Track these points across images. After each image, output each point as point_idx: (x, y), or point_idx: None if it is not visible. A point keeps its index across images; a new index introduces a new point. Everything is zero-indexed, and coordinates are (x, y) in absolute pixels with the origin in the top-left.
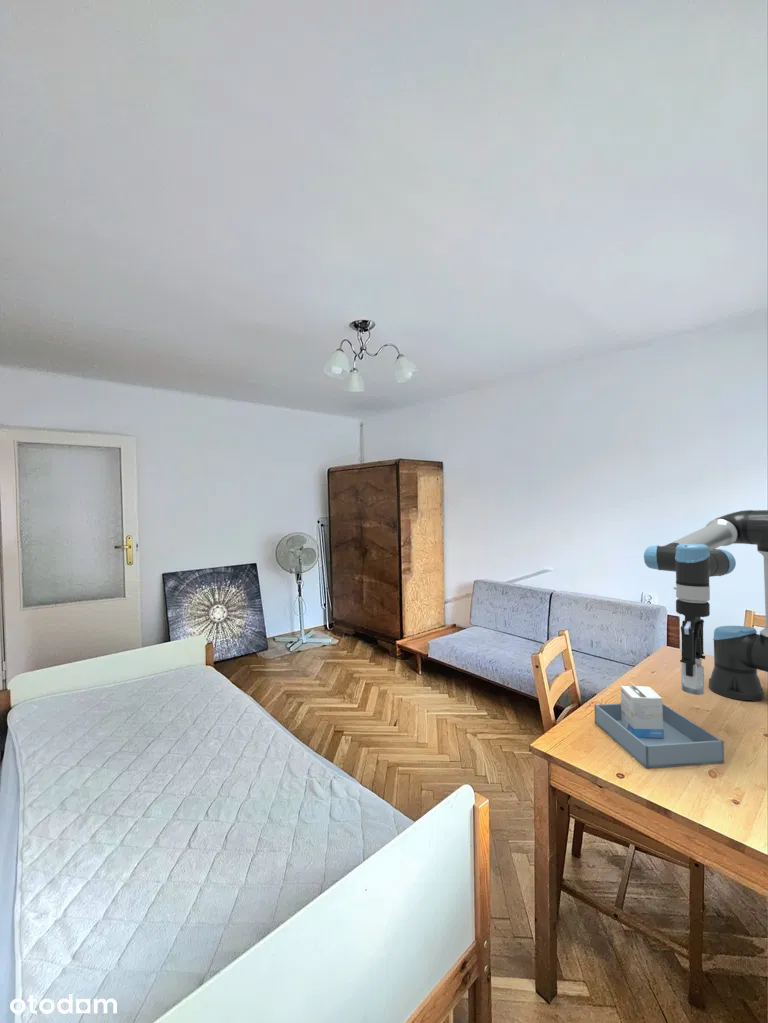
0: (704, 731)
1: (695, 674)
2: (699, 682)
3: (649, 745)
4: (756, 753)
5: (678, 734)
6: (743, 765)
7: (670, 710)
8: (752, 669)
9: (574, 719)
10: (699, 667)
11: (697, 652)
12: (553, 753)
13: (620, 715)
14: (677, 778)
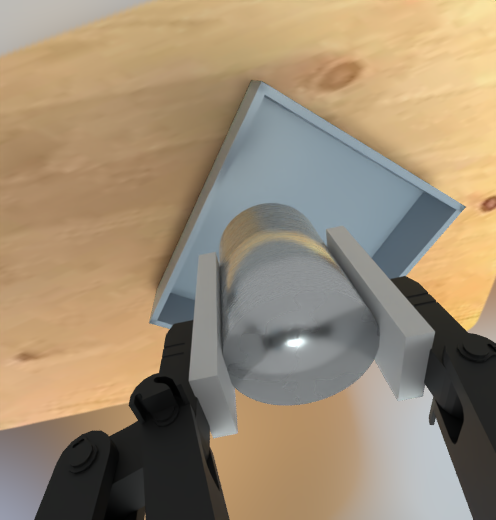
0: (234, 157)
1: (385, 278)
2: (317, 240)
3: (453, 205)
4: (91, 33)
5: (210, 222)
6: (215, 32)
7: (175, 280)
8: None
9: None
10: (307, 314)
11: (208, 472)
12: (483, 306)
13: None
14: (426, 123)
